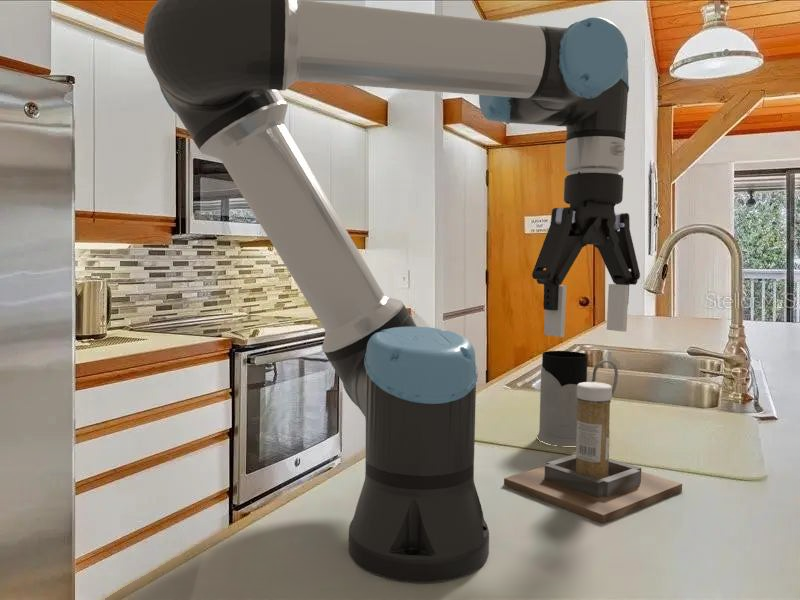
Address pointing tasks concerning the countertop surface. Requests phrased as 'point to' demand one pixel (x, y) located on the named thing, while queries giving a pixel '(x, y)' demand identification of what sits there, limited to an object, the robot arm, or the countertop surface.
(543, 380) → the grey mug
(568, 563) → the countertop surface
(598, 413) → the sprinkles bottle
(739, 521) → the countertop surface
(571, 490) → the socket board
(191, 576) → the countertop surface
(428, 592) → the countertop surface
